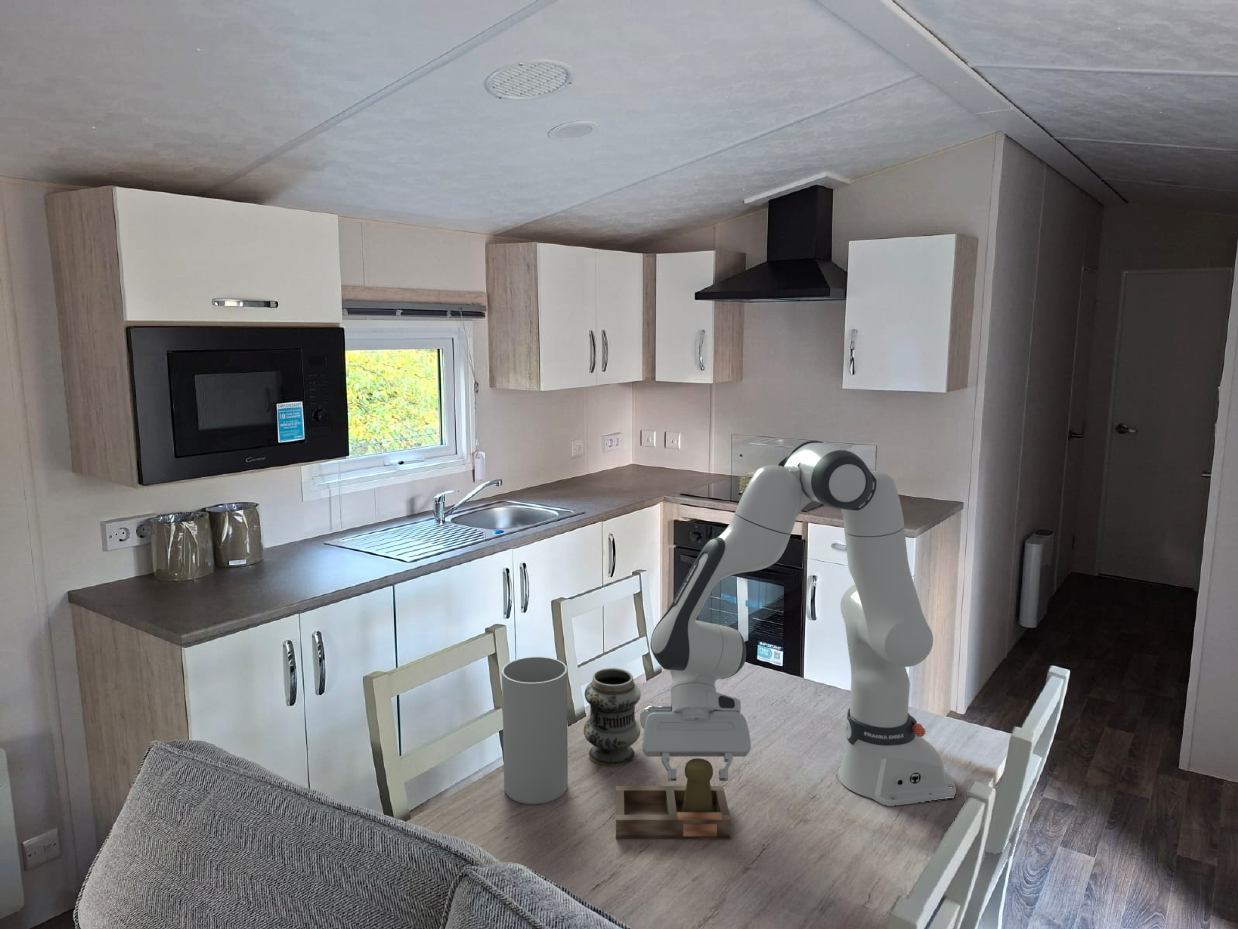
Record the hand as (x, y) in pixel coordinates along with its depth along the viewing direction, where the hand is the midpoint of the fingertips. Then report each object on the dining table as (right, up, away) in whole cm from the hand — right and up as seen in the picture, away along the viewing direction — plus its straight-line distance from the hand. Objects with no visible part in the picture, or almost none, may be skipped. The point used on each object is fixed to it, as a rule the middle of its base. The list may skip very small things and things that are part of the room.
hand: (698, 780), depth 156 cm
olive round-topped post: (0, -8, +2) cm, 8 cm away
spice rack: (-5, -8, +2) cm, 10 cm away
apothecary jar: (-16, -4, +26) cm, 30 cm away
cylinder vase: (-31, -7, +13) cm, 34 cm away
